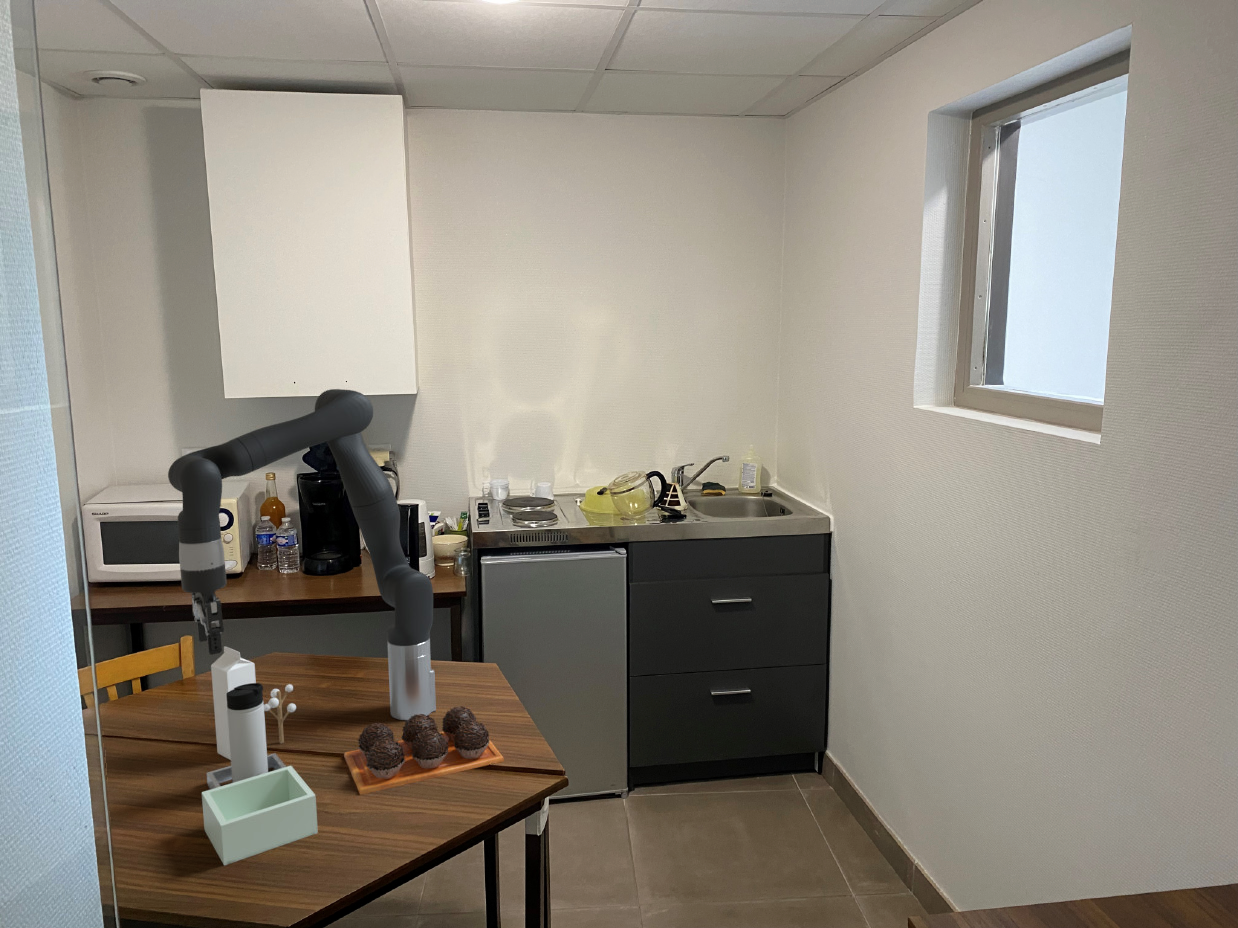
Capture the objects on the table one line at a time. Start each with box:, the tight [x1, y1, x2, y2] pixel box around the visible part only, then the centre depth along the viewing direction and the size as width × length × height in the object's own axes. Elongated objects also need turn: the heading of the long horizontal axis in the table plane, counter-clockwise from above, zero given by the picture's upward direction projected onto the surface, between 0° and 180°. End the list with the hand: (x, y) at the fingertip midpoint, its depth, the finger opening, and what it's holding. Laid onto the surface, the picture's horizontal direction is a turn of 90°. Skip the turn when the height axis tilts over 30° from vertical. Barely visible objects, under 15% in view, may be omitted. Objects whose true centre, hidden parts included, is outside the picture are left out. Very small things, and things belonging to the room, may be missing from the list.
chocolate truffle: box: [343, 705, 505, 796], centre depth 174 cm, size 28×17×8 cm, turn 117°
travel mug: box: [226, 682, 269, 783], centre depth 162 cm, size 6×7×20 cm
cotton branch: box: [263, 683, 297, 744], centre depth 181 cm, size 7×6×12 cm
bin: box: [201, 765, 319, 866], centre depth 148 cm, size 15×13×7 cm
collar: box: [206, 752, 287, 790], centre depth 164 cm, size 13×12×2 cm
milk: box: [210, 646, 257, 761], centre depth 176 cm, size 6×6×22 cm
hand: (210, 646), depth 163 cm, fingers open, 8 cm apart
